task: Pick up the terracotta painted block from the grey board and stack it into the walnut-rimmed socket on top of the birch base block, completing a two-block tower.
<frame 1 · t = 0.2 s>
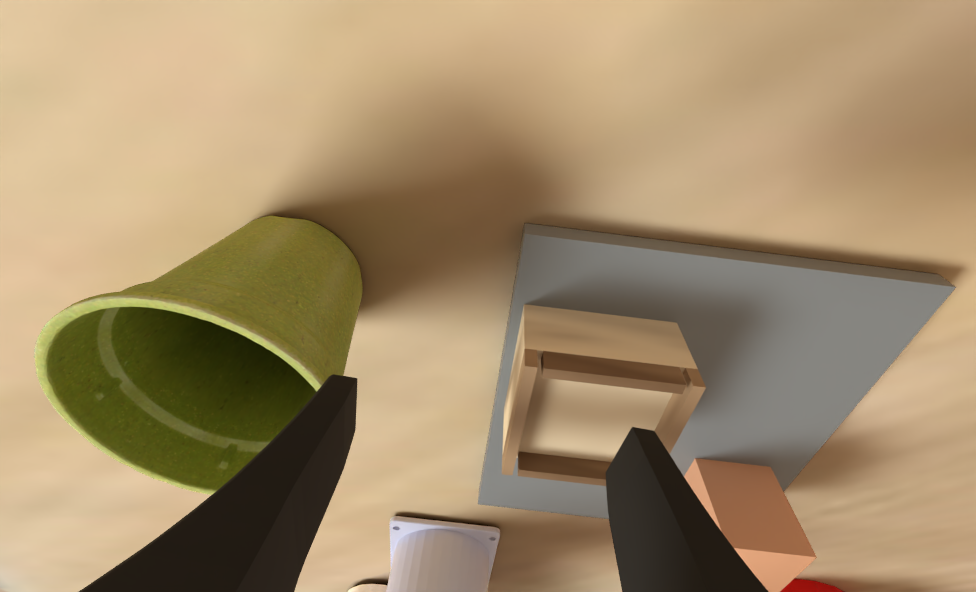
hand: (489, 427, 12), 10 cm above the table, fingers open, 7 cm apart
grey board: (658, 406, 25), on the table
terracotta block: (717, 484, 28), point 1 cm above the table, touching grey board
birch socket block: (583, 369, 23), resting on grey board
plant pot: (303, 270, 22), on the table
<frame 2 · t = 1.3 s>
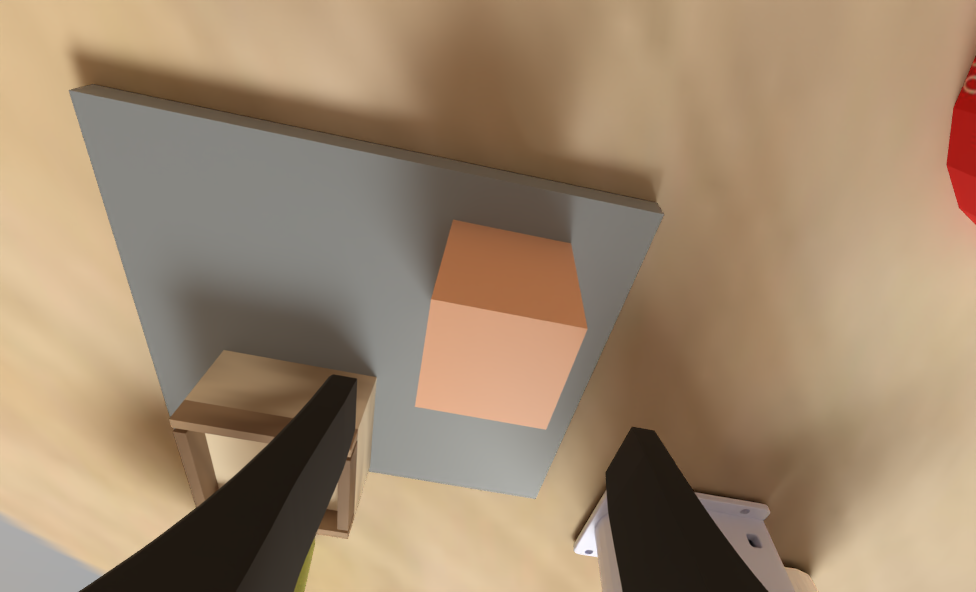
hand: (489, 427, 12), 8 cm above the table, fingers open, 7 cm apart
grey board: (373, 337, 21), on the table
terracotta block: (500, 281, 18), point 1 cm above the table, touching grey board
birch socket block: (303, 413, 23), resting on grey board
plant pot: (274, 524, 32), on the table
cup: (759, 578, 32), on the table
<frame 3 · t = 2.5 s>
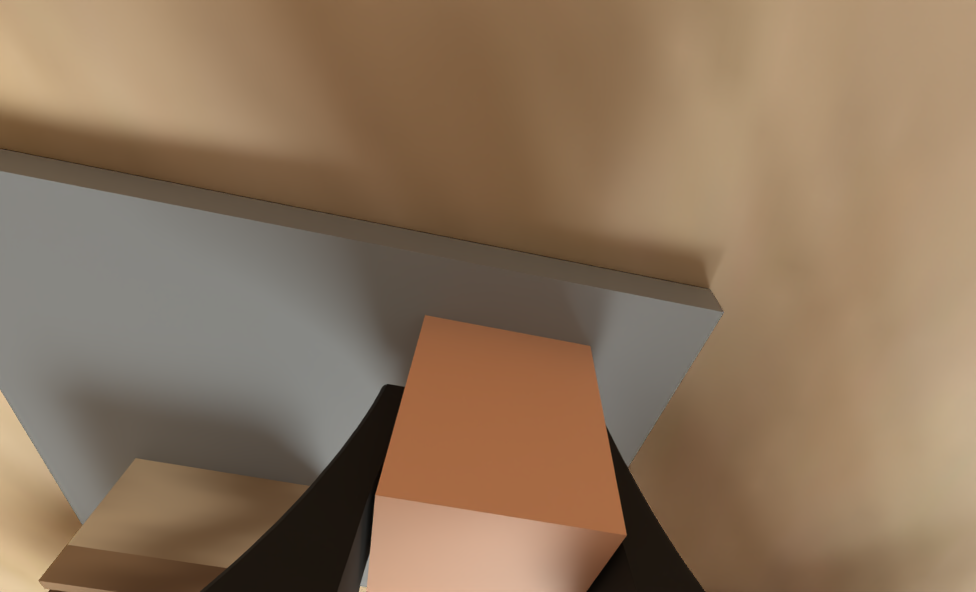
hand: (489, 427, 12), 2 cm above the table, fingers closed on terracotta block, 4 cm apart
grey board: (330, 439, 17), on the table
terracotta block: (492, 388, 13), point 1 cm above the table, touching grey board, gripper
birch socket block: (247, 524, 18), resting on grey board
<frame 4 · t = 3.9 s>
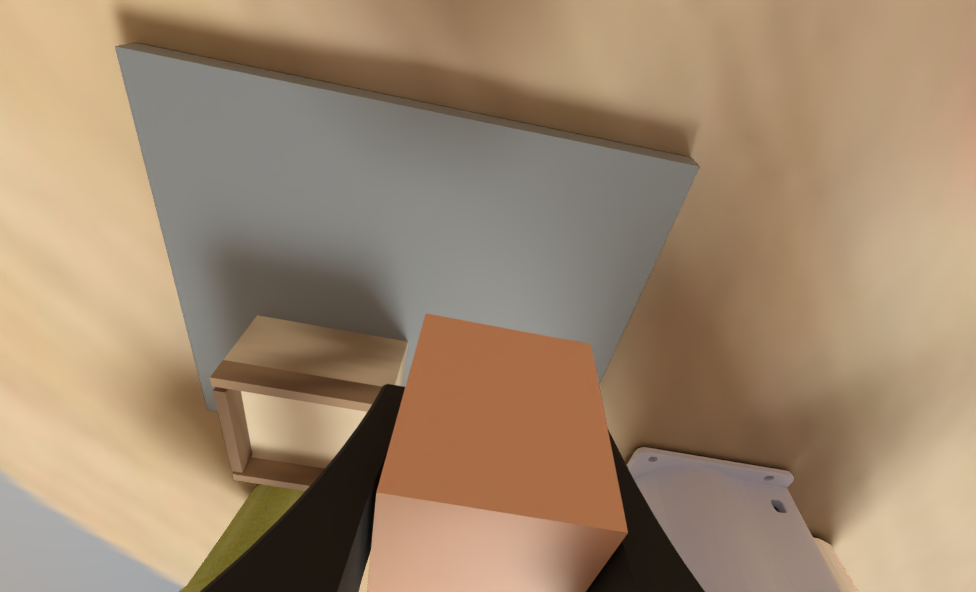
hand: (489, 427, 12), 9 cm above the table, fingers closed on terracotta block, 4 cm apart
grey board: (404, 302, 22), on the table
terracotta block: (492, 386, 13), point 8 cm above the table, touching gripper
birch socket block: (334, 380, 23), resting on grey board
plant pot: (298, 499, 32), on the table
cup: (780, 550, 33), on the table
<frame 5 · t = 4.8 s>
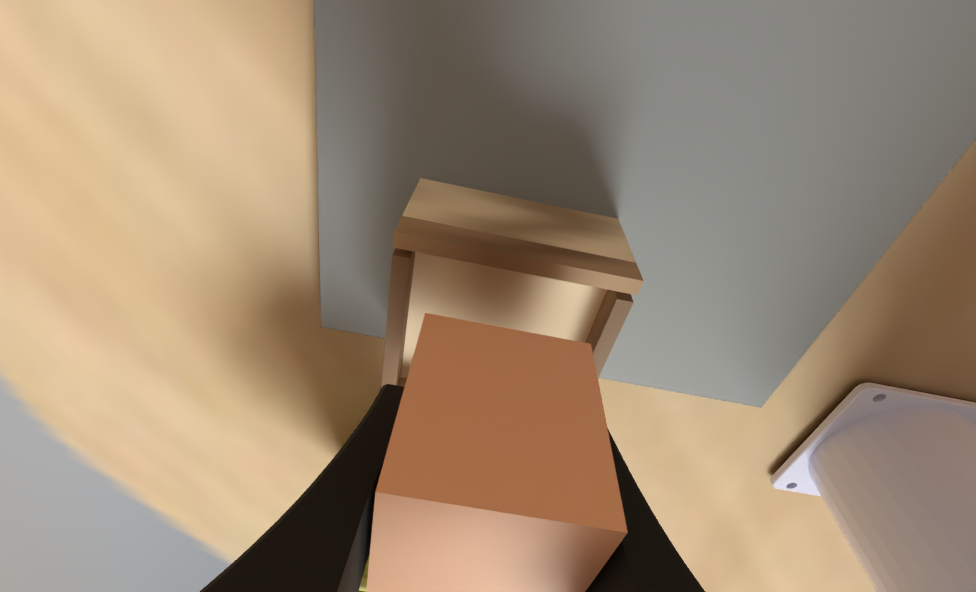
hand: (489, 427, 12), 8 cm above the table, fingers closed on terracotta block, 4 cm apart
grey board: (614, 165, 16), on the table
terracotta block: (492, 386, 13), point 7 cm above the table, touching gripper
birch socket block: (500, 281, 18), resting on grey board
when the fingers open (7 cm above the table, at t = 5.3 s): terracotta block drops 2 cm, resting on birch socket block.
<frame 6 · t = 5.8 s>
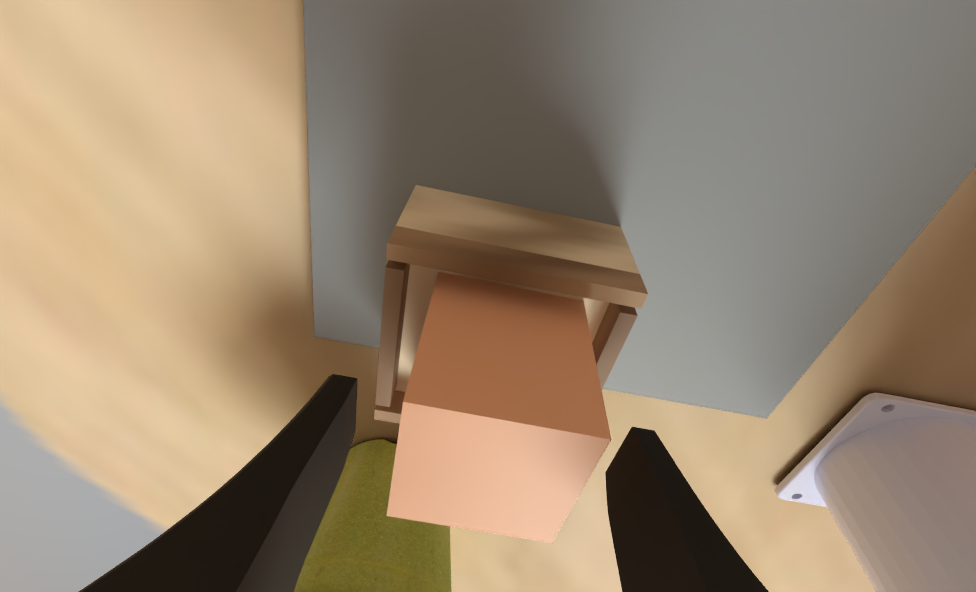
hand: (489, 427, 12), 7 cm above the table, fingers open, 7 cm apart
grey board: (617, 171, 15), on the table
terracotta block: (496, 341, 15), point 4 cm above the table, touching birch socket block
birch socket block: (498, 290, 17), resting on grey board
plant pot: (397, 467, 26), on the table
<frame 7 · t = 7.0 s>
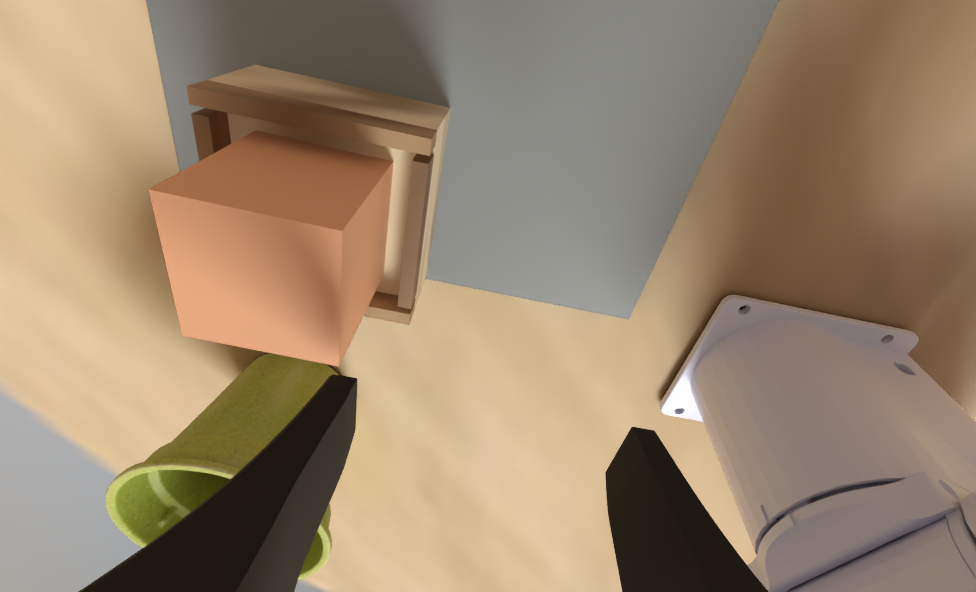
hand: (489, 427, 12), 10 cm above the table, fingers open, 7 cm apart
grey board: (446, 55, 17), on the table
terracotta block: (325, 208, 16), point 4 cm above the table, touching birch socket block
birch socket block: (351, 179, 18), resting on grey board
plant pot: (302, 385, 27), on the table
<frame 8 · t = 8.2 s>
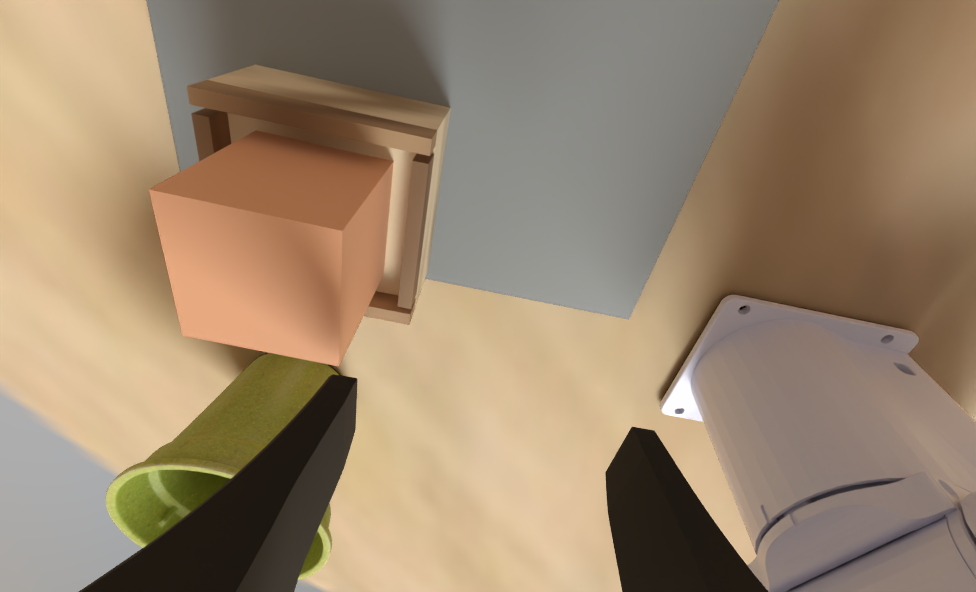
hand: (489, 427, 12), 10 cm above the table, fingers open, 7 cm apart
grey board: (446, 55, 17), on the table
terracotta block: (325, 208, 16), point 4 cm above the table, touching birch socket block
birch socket block: (351, 179, 18), resting on grey board
plant pot: (302, 385, 27), on the table
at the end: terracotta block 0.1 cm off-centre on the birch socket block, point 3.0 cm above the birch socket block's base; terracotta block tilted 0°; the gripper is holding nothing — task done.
